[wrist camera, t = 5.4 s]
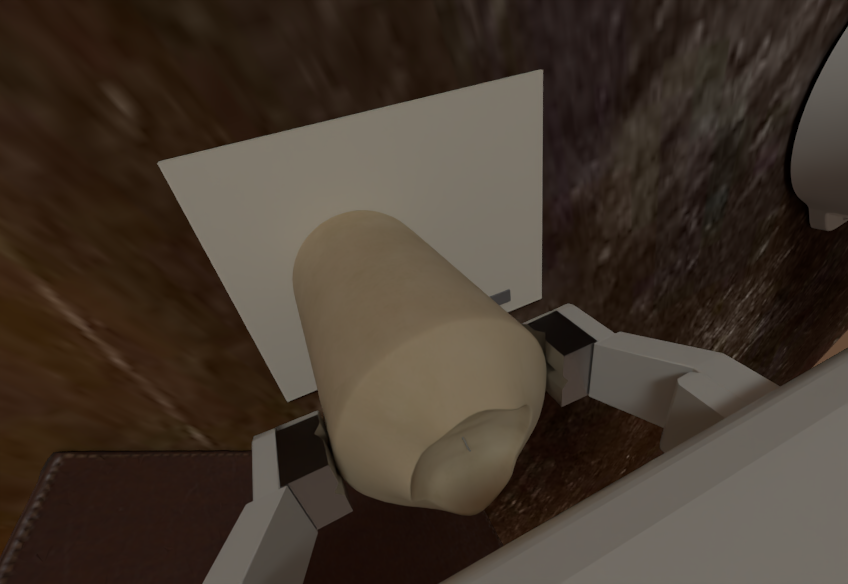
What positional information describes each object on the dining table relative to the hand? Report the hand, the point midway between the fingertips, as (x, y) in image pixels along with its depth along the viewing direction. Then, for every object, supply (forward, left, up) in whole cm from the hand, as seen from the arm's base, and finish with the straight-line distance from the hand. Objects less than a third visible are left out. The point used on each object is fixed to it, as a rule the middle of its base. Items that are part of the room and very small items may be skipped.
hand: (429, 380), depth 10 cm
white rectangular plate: (-2, 0, -8) cm, 8 cm away
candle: (0, 0, -8) cm, 8 cm away
